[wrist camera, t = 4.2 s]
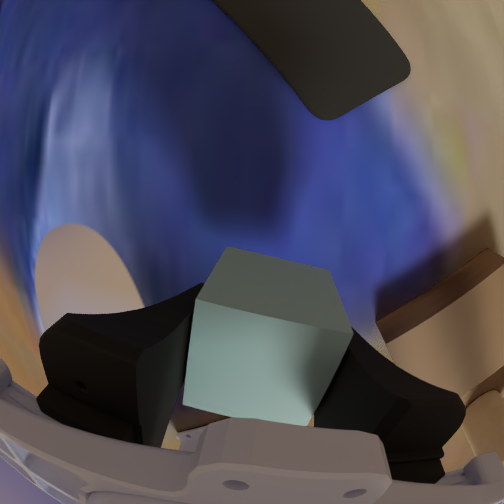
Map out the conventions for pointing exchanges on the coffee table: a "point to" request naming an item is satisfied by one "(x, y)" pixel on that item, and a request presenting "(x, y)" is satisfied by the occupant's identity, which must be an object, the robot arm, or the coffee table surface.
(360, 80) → the phone
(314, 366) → the painted block
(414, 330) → the walnut base
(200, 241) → the coffee table surface
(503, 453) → the candle
